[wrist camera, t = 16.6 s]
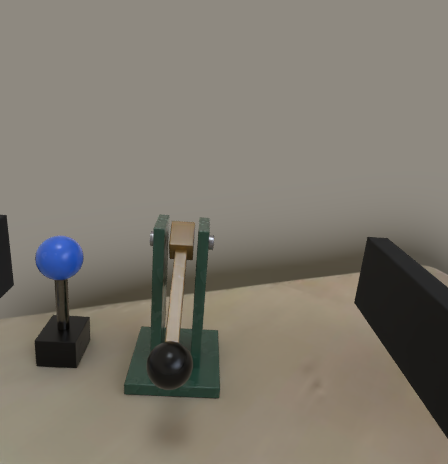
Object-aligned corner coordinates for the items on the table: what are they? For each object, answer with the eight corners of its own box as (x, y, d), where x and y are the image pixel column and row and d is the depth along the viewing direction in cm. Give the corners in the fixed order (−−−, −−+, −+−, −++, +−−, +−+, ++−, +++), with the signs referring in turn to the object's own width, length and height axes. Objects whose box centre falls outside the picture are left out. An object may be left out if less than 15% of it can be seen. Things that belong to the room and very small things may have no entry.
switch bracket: (218, 398, 39) (233, 244, 34) (124, 394, 38) (124, 237, 33) (217, 338, 48) (228, 211, 43) (141, 335, 48) (143, 205, 43)
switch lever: (191, 396, 32) (191, 382, 29) (145, 394, 32) (141, 380, 29) (201, 241, 41) (202, 218, 38) (165, 238, 41) (164, 216, 38)
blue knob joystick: (92, 340, 46) (89, 230, 42) (78, 368, 41) (73, 247, 37) (52, 338, 46) (45, 227, 41) (34, 366, 41) (24, 244, 37)
